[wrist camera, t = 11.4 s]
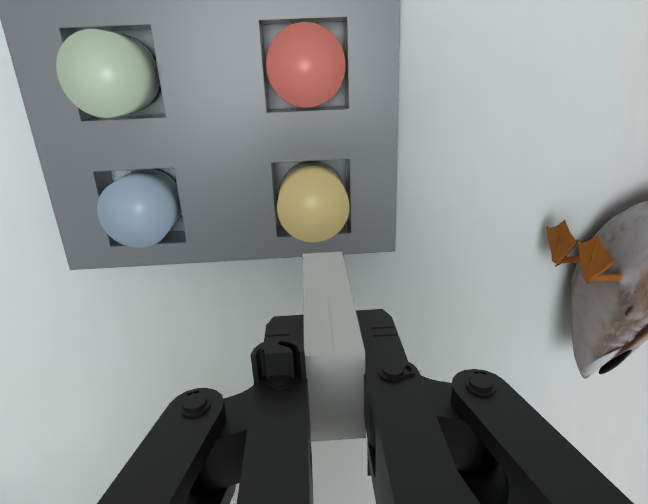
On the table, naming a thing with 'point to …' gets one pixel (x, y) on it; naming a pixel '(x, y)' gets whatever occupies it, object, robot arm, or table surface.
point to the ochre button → (312, 202)
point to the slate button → (139, 207)
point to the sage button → (107, 73)
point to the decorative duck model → (607, 289)
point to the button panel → (212, 125)
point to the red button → (305, 64)
